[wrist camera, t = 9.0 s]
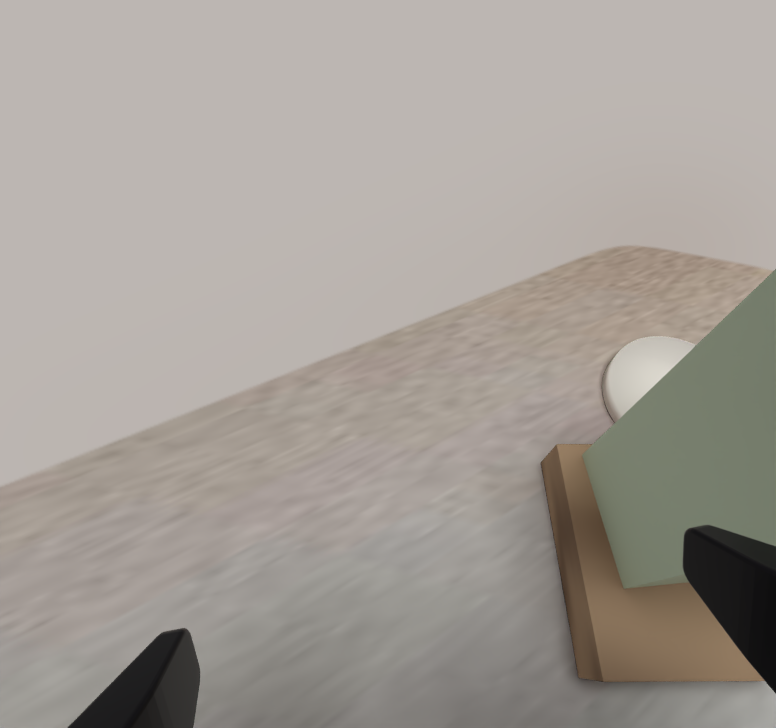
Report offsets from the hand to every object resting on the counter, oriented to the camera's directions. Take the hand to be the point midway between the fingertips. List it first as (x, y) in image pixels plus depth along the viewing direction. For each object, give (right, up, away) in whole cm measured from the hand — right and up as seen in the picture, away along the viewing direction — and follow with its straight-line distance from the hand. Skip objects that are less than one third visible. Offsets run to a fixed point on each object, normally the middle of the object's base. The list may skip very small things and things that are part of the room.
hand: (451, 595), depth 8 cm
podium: (+10, -5, +13) cm, 17 cm away
